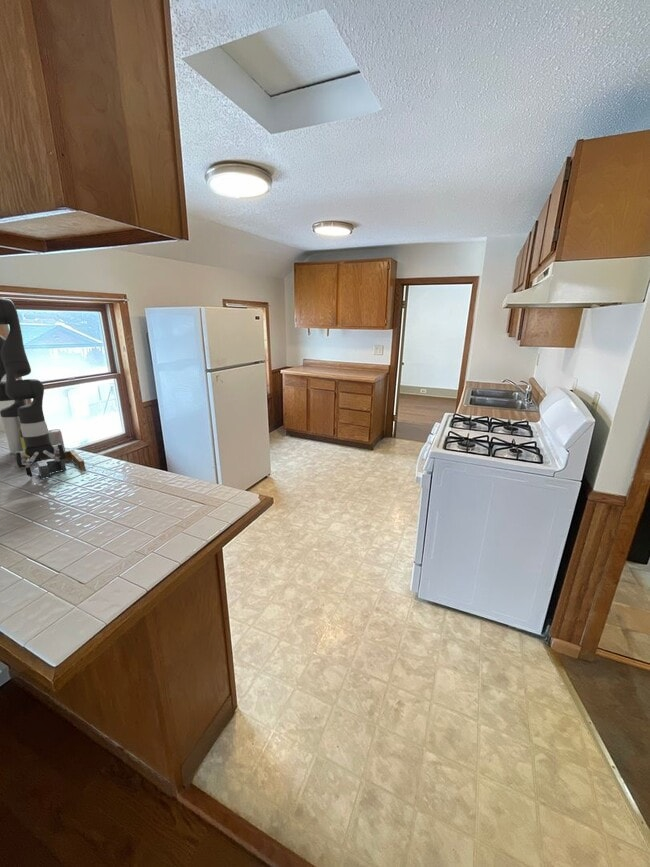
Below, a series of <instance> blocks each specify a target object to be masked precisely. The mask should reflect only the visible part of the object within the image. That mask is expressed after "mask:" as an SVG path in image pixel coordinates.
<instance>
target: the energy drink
mask: <svg viewBox="0 0 650 867" xmlns="http://www.w3.org/2000/svg"><path fill="white" fill-rule="evenodd" d="M48 432H49V437H50V441H51V445H52V446H54V445H57V444H61V445H62V447H63V451H66V447H65V444H64V439H63V434H62V431H61V429H50V430H49V429H48ZM51 453H52V454H53V453H59V450H56V449H55V448H54V449H53V451H52V452H51Z"/></svg>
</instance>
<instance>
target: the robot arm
mask: <svg viewBox="0 0 650 867" xmlns="http://www.w3.org/2000/svg"><path fill="white" fill-rule="evenodd" d="M0 325H8V326H9V332H8V334H7V336H6V338H5V337H4V336H2V335H1V334H0V402H9V401H14V402H13V403H12V404H11V405H9V406H7V407H5V408H2V409H0V418H1V421H2V425H3V429H4V433H5V436H6V441H7V444H8V448H9V452H10V454H12V455H15V457H16V458H15V459H16V464H17V467H18V469H21V468H22V469H23V468H24V469H25V474H26V475H27V476H28V477H30V478H32V477H33V473H32V468H31V467H30V466H31V465H32V463H34V459H35V461H39V460H40V461H41V460H42V459H45V458H47V457H51V458H52V459H54V460H56V461H55V463H56V467H57V470H58V471H59V472H61V471H60V469H61V468H62V466H61V462H60V461H61V460H62V459H65V454H64V451H63V447H62V445H61V444H57V445H54V446H52V445H51V441H50V437H49V432H48V431H49V429H48V428H49V427H48V425H47V423H46V419H45V415H44V411H43V410H44V409H43V400H44V394H45V388H44V384H43V383H42V381H41V380H39V379H36V378H31V379H30V378H28V379H19V378H22V377H26V376H29V375H30V374H31V373H32V369H31V366H30V362H29V359H28V356H27V353H26V349H25V346H24V338H23V334H22V328H21V324H20V319H19V314H18V311H17V307H16V305H15V304H14V302H13V301H12V300H11V299H9V298H4V297H3V298H2V297H0ZM4 376H5V378H6V379H3V377H4ZM31 399H32V401H31V402H30V403H27V404H26V400H31ZM20 429H21V431H22V435H23V439H24V443H25V447H26V449H25V451H23V448H22V443H21V438H20ZM54 448H55V449H56V450H59V453H60V456H59V457H57V456H55V455H54V454H52V453H51V452H52V451H53V449H54ZM24 454H27V455H28V456H29V457H28V459H27V461H26V460H25V463H23V461H22V458H23V457H24Z"/></svg>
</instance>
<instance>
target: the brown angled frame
mask: <svg viewBox="0 0 650 867" xmlns="http://www.w3.org/2000/svg"><path fill="white" fill-rule="evenodd" d="M53 454H54V455H55V456H57V457H59V456H60V453H53ZM64 454H65V459H64V462H67V461H72V462H73V463H74V464H75V466H76V467H77V466H78V467H77V468H78V469H79V470H80V471H82V472H83V471H86V465H85V461H84V459H83V458H82V456H80V455H79V454H78V453H77V452H76V451H75V450H74V449H71V450H65V451H64ZM49 459H52V458H51V457H47V458H45V459H41V461H44V460H49Z"/></svg>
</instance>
